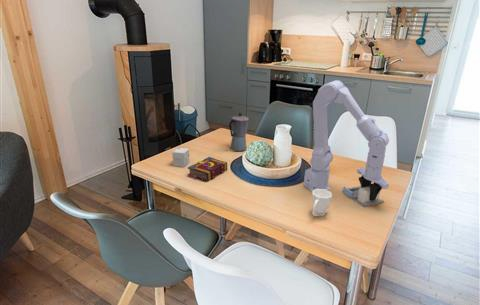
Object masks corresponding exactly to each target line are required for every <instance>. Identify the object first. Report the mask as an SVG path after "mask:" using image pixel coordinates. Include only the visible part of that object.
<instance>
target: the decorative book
mask: <svg viewBox="0 0 480 305" xmlns="http://www.w3.org/2000/svg"><path fill="white" fill-rule="evenodd" d="M187 169H188V170H189V173H188V174H187V176H188V178H196V179H198V180H202V181H205V182H209V181H211V180H212V181H213V180H214V179H216V177H218V176H220V175H223V174H225V172H227V171H228V162H227V161H224V160H220V159H216V158H214V157H211V156H208V157H206V158H204V159H203V160H199V161H197V162H196V163H195V164H191V165H190V166H187Z"/></svg>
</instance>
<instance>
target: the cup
mask: <svg viewBox="0 0 480 305" xmlns="http://www.w3.org/2000/svg"><path fill="white" fill-rule="evenodd" d="M332 197H333V196H332V192H331V191H329V190H325V189H316V190H313V192H312V206H313V207H312V215H313V216H314V217H323V216H325V215H326V213H327V211H328V209H329V206H330V202H331V199H332Z"/></svg>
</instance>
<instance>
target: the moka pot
mask: <svg viewBox="0 0 480 305" xmlns="http://www.w3.org/2000/svg"><path fill="white" fill-rule="evenodd" d="M249 121H250V119H249V117H248V116H245V115H243V114H242V113H241V112H238V115H237V116H234V115H233V116H232V117H230V122H229V123H228V125H229V126H228V127H229V130H230V131H229V132H230V136H231V142H230V151H231V150H232V151H234V152H244V151H246V150H247V140H246V139H247V138H246V135H247V132H248V126H249Z"/></svg>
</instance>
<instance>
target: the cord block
mask: <svg viewBox="0 0 480 305" xmlns="http://www.w3.org/2000/svg"><path fill="white" fill-rule="evenodd" d="M380 195H381V191H380V192H379V193H378V195H377V197H376V199H375V200H372V201H371V200H370V199H369V197H370V187H369V186H368V187H364V188H359V194H358V200H359V201H360V202H361V203H368V202H373V201H378V200H379V199H380Z"/></svg>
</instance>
